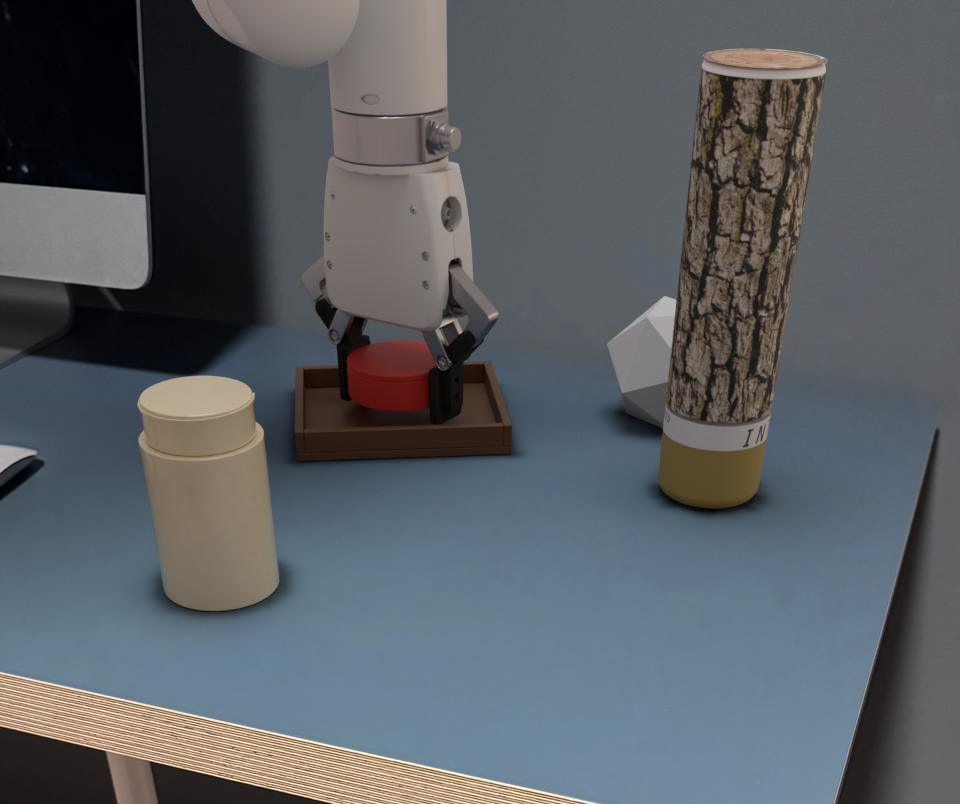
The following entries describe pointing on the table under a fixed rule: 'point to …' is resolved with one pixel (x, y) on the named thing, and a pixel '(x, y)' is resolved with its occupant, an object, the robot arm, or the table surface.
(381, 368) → the jar lid
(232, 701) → the table surface
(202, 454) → the jar
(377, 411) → the tray
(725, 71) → the paper tube
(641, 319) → the die
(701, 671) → the table surface
